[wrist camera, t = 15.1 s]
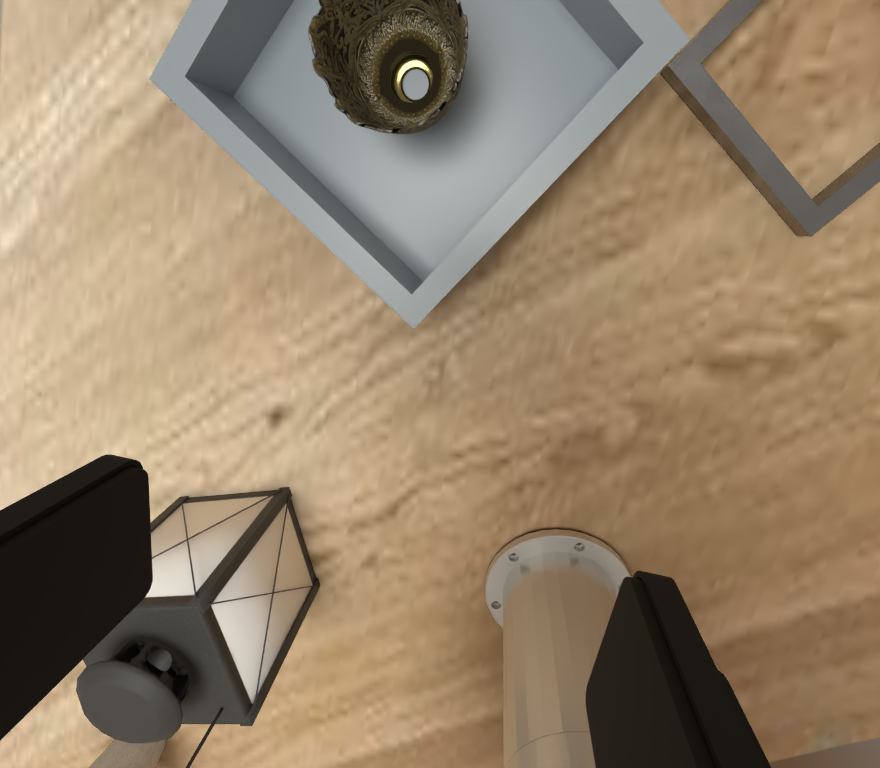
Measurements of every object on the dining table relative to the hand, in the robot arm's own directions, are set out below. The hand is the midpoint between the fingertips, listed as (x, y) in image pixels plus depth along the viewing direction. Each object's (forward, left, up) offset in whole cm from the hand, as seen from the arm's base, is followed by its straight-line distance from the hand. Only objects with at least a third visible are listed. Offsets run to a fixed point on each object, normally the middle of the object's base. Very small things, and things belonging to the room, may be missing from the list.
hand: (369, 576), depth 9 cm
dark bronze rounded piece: (+12, -8, -26) cm, 30 cm away
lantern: (-1, +30, -27) cm, 41 cm away
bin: (+12, -8, -27) cm, 31 cm away
